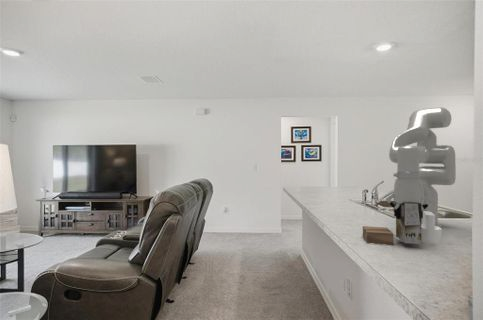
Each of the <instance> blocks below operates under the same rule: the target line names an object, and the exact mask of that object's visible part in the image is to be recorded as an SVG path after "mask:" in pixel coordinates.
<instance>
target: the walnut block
mask: <svg viewBox="0 0 483 320" xmlns="http://www.w3.org/2000/svg"><path fill="white" fill-rule="evenodd" d="M394 235H395V234H394V233H393V232H392V231H391V230H390V229H389V228H388V227H383V226H382V227H381V226H367V225H362V238H363V239H364V241H365V242H366V244H370V243H374V244H373V245H383V244H386V245H385V246H387V245H388V246H394V245H395V243H394V241H395V240H394V239H395V238H394Z"/></svg>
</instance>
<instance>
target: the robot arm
mask: <svg viewBox="0 0 483 320" xmlns="http://www.w3.org/2000/svg"><path fill="white" fill-rule="evenodd" d="M408 120H409V121H408V125H407V128H406V130H404V131H403V132H401V133H400V134H399V135H397V136H396V137H394V139H393V140H392V142H391V145H390V148H389V151H388V152H389V155H388V156H389V160H390V161H391V162H392V163H395V164H397V166H396V167H397V171H396V172H395V173H394V172H393V173H392V174H393V175H392V176H393V177H396V178H395V181H394V188H393V193H392V194H391V195H389V196H387V197H386V198H385V201H386V202H387V203H388V204H389V205H390V206H391V207H392V208H393V213H394V214H393V215H394V217H395V219H396V218H397V219H399V209H398V207H399V205H400V204H402V203H421V224H422V218H423V211H429V212H432V213H433V214H434V215H435V226H437V227H440V228H442V224H440V223H439V220H438V219H439V217H438V216H439V210H438V209H439V202H438V201H439V199H438V198H439V197H438V195H439V193H438V192H437V190H436V189H435V188H434V187H433V186H434V185H436V186H437V185H438V186H452V185H454V184H455V183H456V179H457V178H456V176H457V175H456V174H457V173H456V172H457V171H456V168H457V167H456V152H455V148H454V147H453V146H452V145H443V144H441V145H439V144H437V143H438V141H437V137H438V136H437V134H436V133H435V132H434V131H432V129H442V128H443V129H444V128H447V127H449V126H450V125H451V123H452V114H451V112H450V111H449V110H448V109H447V108H445V107H440V106H439V107H432V108H423V109H417V110H415V111H413V112H412V113H411V114H410V117H409V119H408ZM413 144H416V145H413ZM420 164H426V165H423V166H420ZM429 164H430V165H431V166H430V165H429ZM434 165H443V166H434ZM432 185H433V186H432ZM392 199H393V201H394V202H392Z"/></svg>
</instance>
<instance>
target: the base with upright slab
mask: <svg viewBox="0 0 483 320" xmlns="http://www.w3.org/2000/svg"><path fill="white" fill-rule="evenodd" d="M421 230H422V231H421V243H424V244H430V245H440V244H442V241H443V240H442V239H443V237H442V236H443V235H442V230H443V229H442V227H441V228H440V227H437V226H435V215H434V214H433V213H432V212H429V211H423V218H422V224H421Z"/></svg>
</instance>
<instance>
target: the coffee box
mask: <svg viewBox="0 0 483 320" xmlns="http://www.w3.org/2000/svg"><path fill="white" fill-rule="evenodd" d="M398 209H399V219H397V218H396V217H395V231H396V232H395V236H396V238H398V239H399V240H400V241H401V242H403V243H405V244H417V245H422V242H421V231H422V230H421V203H402V204H400V205H399V207H398Z"/></svg>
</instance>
